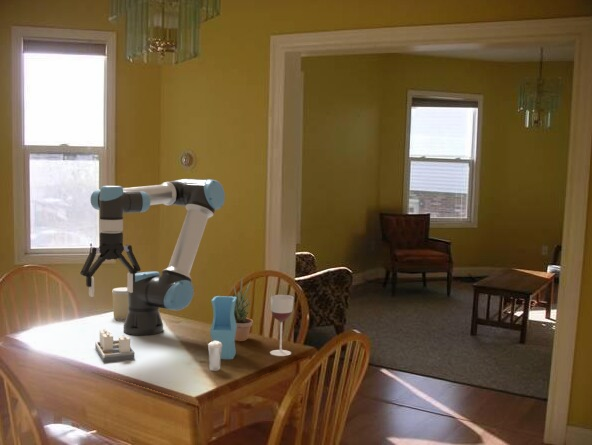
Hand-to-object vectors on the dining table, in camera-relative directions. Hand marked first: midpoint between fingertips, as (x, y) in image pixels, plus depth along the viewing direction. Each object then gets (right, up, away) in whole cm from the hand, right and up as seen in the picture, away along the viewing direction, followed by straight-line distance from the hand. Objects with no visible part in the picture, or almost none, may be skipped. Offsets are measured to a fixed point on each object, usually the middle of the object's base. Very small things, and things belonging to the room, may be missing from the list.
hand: (111, 294), depth 210 cm
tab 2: (-2, -19, +1) cm, 19 cm away
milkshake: (+36, -23, -11) cm, 44 cm away
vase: (+37, -22, +4) cm, 44 cm away
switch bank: (0, -21, +3) cm, 21 cm away
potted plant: (+41, -20, +26) cm, 53 cm away
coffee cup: (-11, -16, +55) cm, 58 cm away
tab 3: (+5, -19, -1) cm, 20 cm away
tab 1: (-4, -18, +6) cm, 20 cm away
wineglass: (+57, -22, +10) cm, 62 cm away
